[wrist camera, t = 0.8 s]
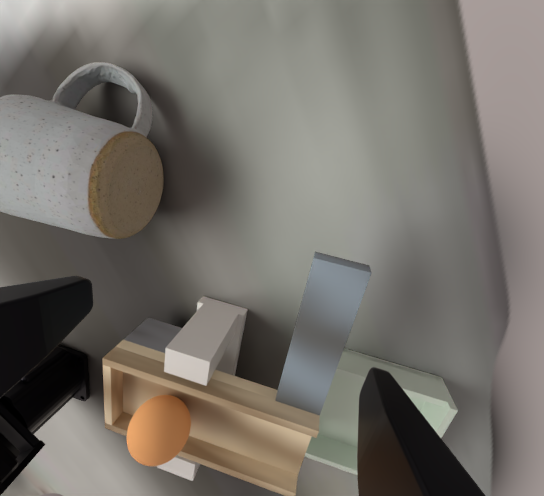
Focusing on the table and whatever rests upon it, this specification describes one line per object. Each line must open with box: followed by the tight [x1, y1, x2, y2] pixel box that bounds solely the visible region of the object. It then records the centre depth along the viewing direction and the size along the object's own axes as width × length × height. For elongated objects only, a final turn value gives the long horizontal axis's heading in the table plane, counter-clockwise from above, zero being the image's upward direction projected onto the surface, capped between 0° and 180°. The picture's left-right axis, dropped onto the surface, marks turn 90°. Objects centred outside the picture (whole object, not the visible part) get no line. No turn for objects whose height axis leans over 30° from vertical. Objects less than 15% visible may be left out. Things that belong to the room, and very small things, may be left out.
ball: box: [127, 395, 191, 466], centre depth 19 cm, size 4×4×4 cm
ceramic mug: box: [0, 62, 164, 239], centre depth 17 cm, size 11×8×8 cm
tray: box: [304, 348, 458, 475], centre depth 22 cm, size 10×9×3 cm
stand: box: [157, 296, 248, 481], centre depth 22 cm, size 12×4×6 cm, turn 168°
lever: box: [103, 252, 371, 496], centre depth 19 cm, size 18×15×5 cm
